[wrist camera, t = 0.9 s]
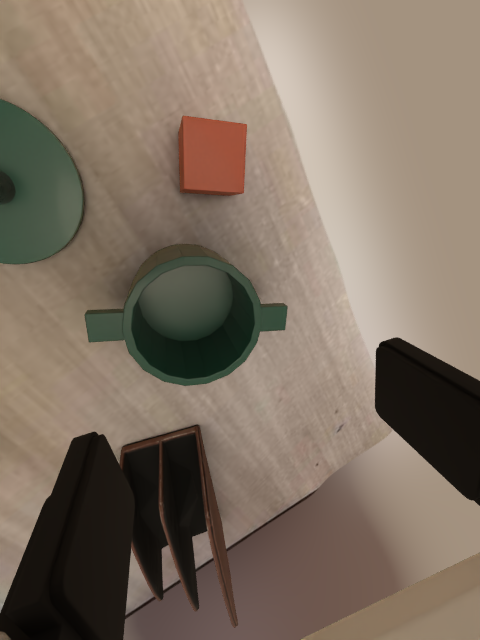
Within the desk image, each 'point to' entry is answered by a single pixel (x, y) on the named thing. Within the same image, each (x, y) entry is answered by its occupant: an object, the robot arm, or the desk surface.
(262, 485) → the desk surface
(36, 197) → the lid
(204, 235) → the desk surface
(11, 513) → the desk surface
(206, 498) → the letter holder
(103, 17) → the desk surface
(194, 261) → the pot
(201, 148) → the block
